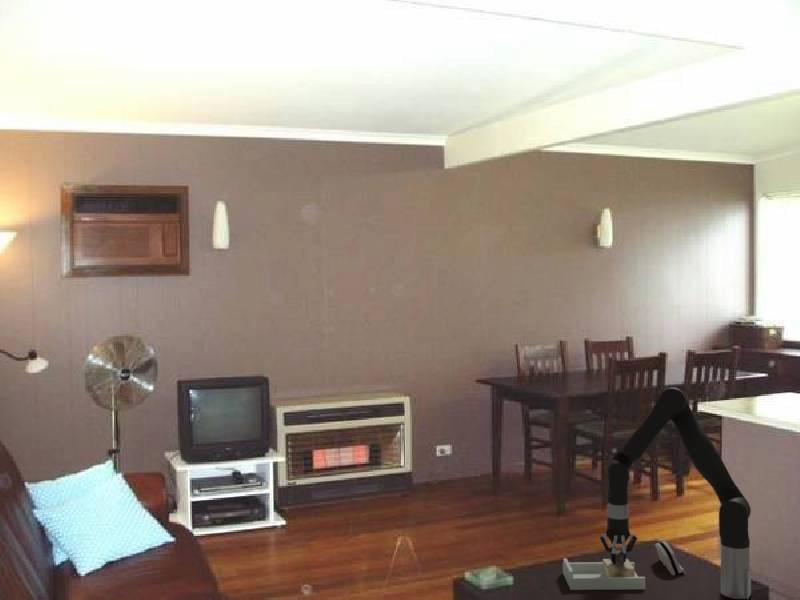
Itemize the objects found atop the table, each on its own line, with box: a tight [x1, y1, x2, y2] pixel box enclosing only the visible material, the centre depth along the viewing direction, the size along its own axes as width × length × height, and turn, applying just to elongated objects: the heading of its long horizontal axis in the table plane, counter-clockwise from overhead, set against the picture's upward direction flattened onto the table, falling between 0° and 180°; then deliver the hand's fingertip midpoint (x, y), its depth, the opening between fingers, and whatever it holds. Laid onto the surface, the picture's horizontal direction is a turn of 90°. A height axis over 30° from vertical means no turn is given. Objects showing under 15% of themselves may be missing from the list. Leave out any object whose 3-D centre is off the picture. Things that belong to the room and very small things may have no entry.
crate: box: [602, 549, 635, 577], centre depth 299 cm, size 9×10×9 cm
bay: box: [562, 557, 646, 591], centre depth 299 cm, size 26×16×6 cm, turn 88°
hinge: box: [654, 540, 687, 576], centre depth 312 cm, size 17×5×10 cm, turn 178°
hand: (618, 562), depth 299 cm, fingers closed on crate, 2 cm apart
